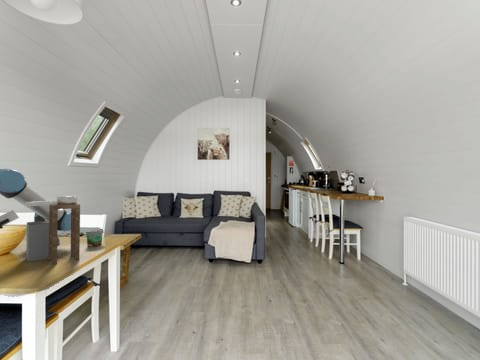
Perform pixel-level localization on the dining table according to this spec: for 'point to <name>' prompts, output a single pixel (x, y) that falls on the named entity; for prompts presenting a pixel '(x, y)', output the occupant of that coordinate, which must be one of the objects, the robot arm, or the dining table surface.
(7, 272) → the dining table surface
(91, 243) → the food container
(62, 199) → the silver saucepan
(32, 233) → the gray rectangular block
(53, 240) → the tall stand
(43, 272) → the dining table surface
